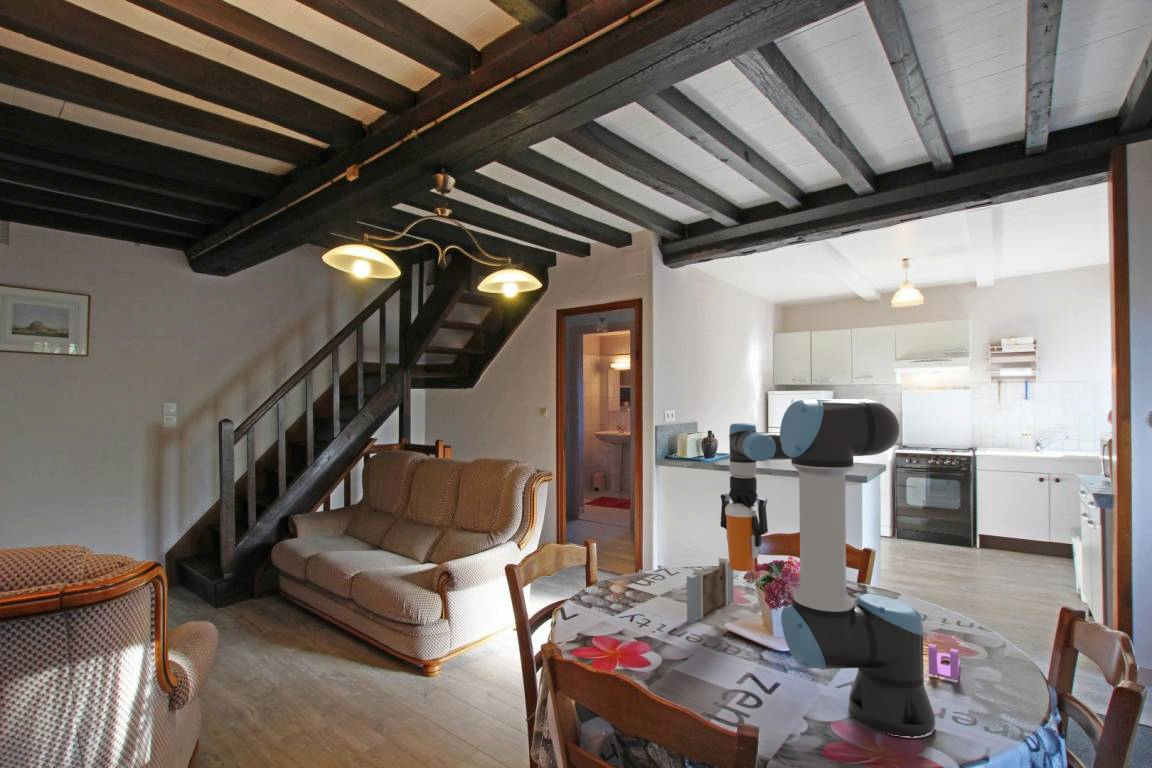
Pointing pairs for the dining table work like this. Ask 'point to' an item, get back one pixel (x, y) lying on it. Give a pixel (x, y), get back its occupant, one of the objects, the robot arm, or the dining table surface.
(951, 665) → the bracket
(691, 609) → the wall
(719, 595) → the door
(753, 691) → the dining table surface
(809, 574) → the robot arm
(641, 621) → the dining table surface
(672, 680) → the dining table surface
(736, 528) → the shaker bottle
